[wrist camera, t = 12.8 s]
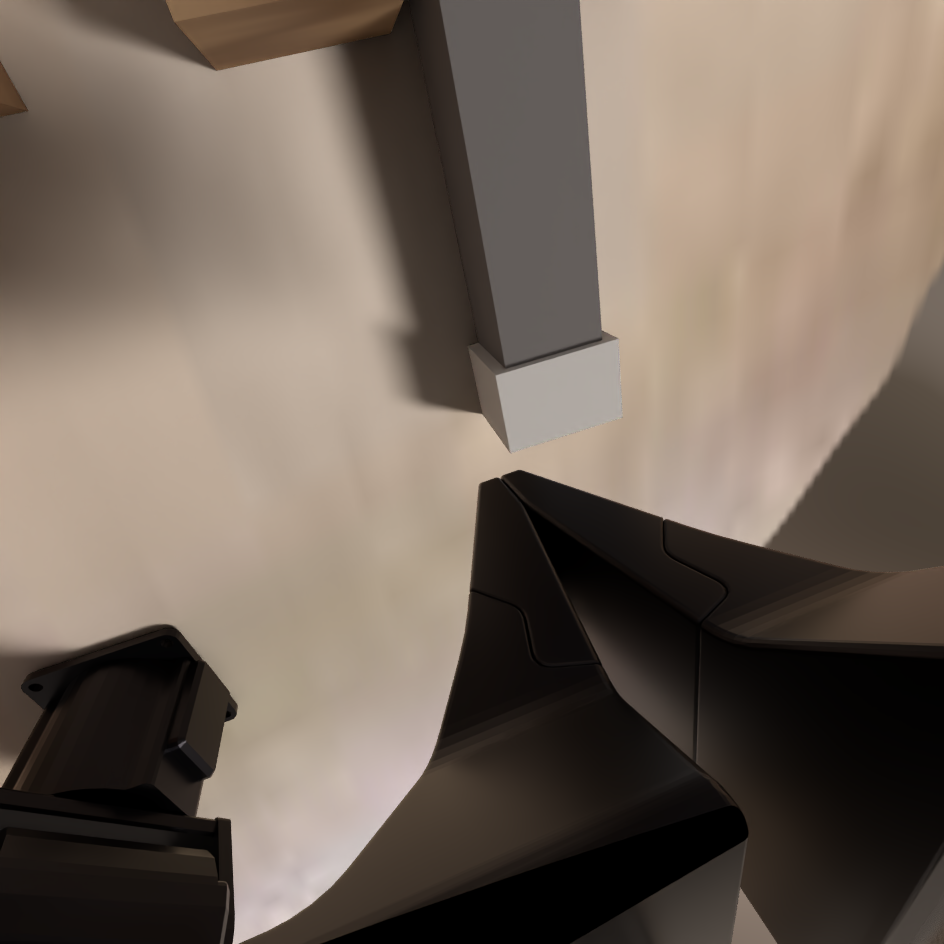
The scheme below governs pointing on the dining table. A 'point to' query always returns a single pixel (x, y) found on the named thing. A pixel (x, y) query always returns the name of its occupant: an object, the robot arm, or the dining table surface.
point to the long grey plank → (522, 209)
